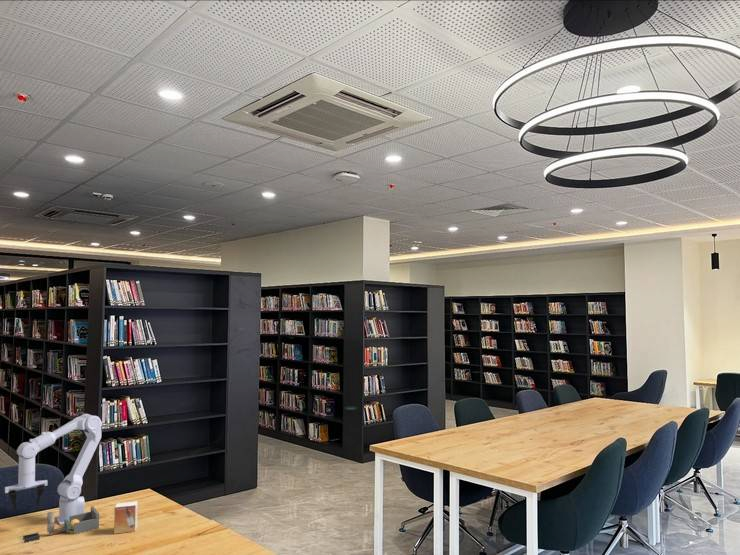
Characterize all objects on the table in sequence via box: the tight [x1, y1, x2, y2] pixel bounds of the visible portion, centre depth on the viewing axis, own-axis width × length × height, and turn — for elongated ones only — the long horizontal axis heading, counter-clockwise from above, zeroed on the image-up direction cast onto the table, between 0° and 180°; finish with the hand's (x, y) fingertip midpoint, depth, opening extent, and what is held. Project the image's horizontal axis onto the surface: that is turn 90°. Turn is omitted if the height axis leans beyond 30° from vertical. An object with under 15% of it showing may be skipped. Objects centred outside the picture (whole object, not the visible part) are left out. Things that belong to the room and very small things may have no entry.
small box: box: [113, 500, 139, 535], centre depth 221 cm, size 8×6×10 cm
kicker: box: [46, 511, 71, 536], centre depth 220 cm, size 8×6×8 cm
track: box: [22, 532, 41, 544], centre depth 214 cm, size 5×4×1 cm
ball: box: [70, 519, 80, 531], centre depth 223 cm, size 4×4×4 cm
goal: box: [69, 505, 100, 535], centre depth 225 cm, size 9×11×6 cm
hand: (26, 507), depth 221 cm, fingers open, 7 cm apart
